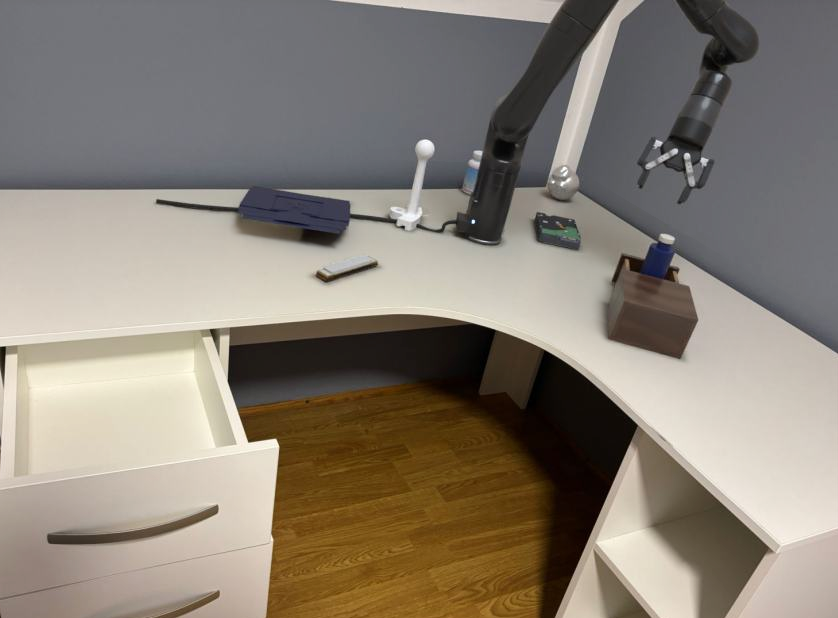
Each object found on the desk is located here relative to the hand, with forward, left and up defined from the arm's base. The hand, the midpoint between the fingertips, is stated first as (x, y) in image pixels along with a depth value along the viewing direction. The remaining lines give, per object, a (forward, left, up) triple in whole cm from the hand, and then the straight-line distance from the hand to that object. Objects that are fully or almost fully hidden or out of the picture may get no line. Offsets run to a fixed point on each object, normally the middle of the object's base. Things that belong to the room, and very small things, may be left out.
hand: (659, 195), depth 148 cm
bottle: (0, -10, -19) cm, 22 cm away
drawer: (+1, -8, -20) cm, 22 cm away
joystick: (-51, +15, -21) cm, 58 cm away
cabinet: (-2, -22, -21) cm, 30 cm away
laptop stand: (-76, +5, -21) cm, 79 cm away
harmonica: (-62, -18, -21) cm, 68 cm away
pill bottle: (-32, +45, -21) cm, 59 cm away
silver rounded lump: (-6, +53, -21) cm, 57 cm away
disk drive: (-12, +23, -21) cm, 34 cm away
